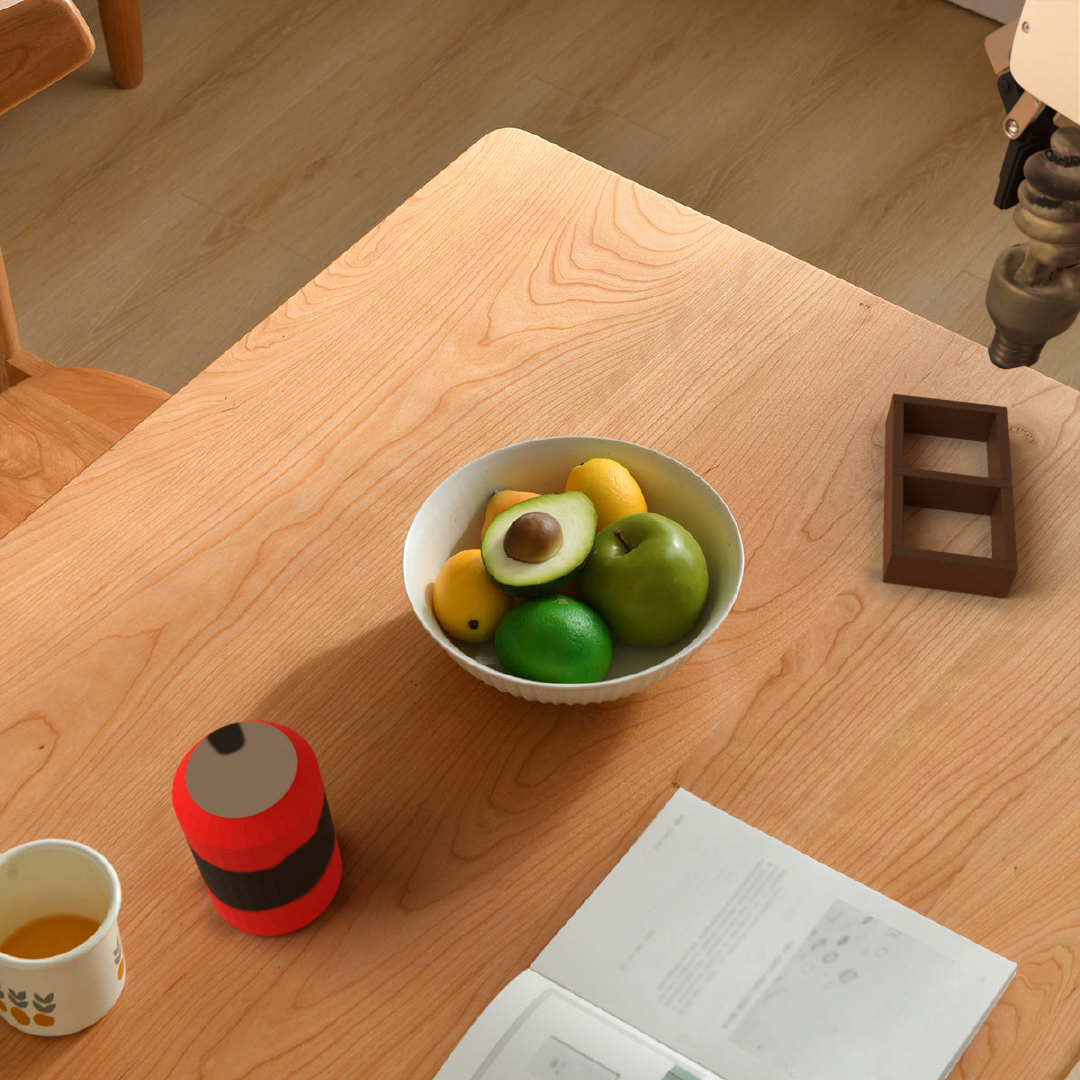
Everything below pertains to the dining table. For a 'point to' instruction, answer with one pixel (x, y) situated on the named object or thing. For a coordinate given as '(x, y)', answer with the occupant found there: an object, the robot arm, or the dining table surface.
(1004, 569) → the socket block
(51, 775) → the dining table surface
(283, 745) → the soda can
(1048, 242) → the light bulb
